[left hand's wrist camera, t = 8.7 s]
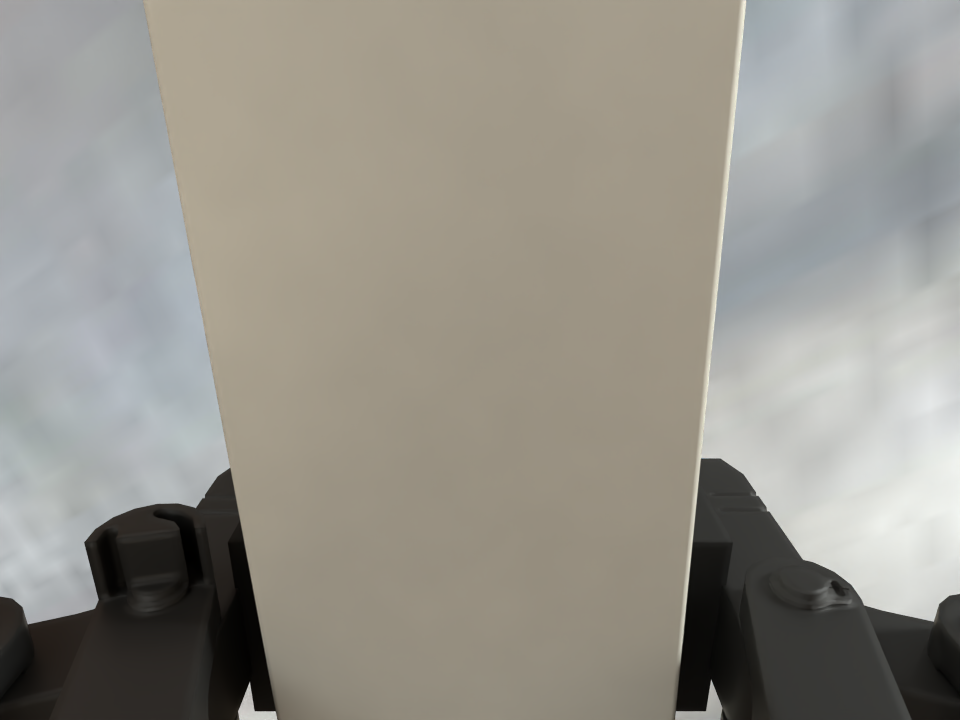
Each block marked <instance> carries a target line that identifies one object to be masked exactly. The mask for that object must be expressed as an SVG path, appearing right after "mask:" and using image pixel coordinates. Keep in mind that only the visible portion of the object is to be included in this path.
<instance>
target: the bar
mask: <svg viewBox="0 0 960 720" xmlns="http://www.w3.org/2000/svg"><path fill="white" fill-rule="evenodd" d="M143 3H144V8H145V13H146V19H147V24H148V30H149V35H150V40H151V46H152V51H153V56H154V62H155V67H156V72H157V78H158V83H159V88H160V94H161V99H162V104H163V110H164V115H165V120H166V126H167V131H168V136H169V142H170V147H171V153H172V158H173V163H174V169H175V174H176V179H177V185H178V190H179V195H180V201H181V206H182V211H183V217H184V222H185V227H186V233H187V238H188V243H189V249H190V254H191V260H192V265H193V270H194V276H195V281H196V286H197V292H198V297H199V302H200V308H201V313H202V318H203V324H204V329H205V334H206V340H207V345H208V350H209V356H210V361H211V366H212V372H213V377H214V383H215V388H216V393H217V399H218V404H219V409H220V415H221V420H222V425H223V431H224V436H225V441H226V447H227V452H228V457H229V463H230V468H231V473H232V479H233V484H234V490H235V495H236V500H237V506H238V511H239V516H240V522H241V527H242V532H243V538H244V543H245V548H246V554H247V559H248V564H249V570H250V575H251V580H252V586H253V591H254V596H255V602H256V607H257V613H258V618H259V623H260V629H261V634H262V639H263V645H264V650H265V655H266V661H267V666H268V671H269V677H270V682H271V687H272V693H273V698H274V703H275V709H276V714H277V720H675V713H676V703H677V693H678V683H679V673H680V663H681V653H682V643H683V633H684V623H685V613H686V603H687V592H688V582H689V572H690V562H691V552H692V542H693V532H694V522H695V512H696V502H697V492H698V482H699V472H700V462H701V451H702V441H703V431H704V421H705V411H706V401H707V391H708V381H709V371H710V361H711V351H712V341H713V331H714V321H715V310H716V300H717V290H718V280H719V270H720V260H721V250H722V240H723V230H724V220H725V210H726V200H727V190H728V180H729V169H730V159H731V149H732V139H733V129H734V119H735V109H736V99H737V89H738V79H739V69H740V59H741V49H742V39H743V28H744V18H745V8H746V0H143Z"/></svg>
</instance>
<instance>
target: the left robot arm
mask: <svg viewBox="0 0 960 720" xmlns="http://www.w3.org/2000/svg"><path fill="white" fill-rule="evenodd" d="M84 543H85V547H86V551H87V555H88V559H89V563H90V567H91V571H92V575H93V579H94V583H95V587H96V591H97V595H98V599H99V601H98V603H97V606H96V608H95V609H93V610H89V611H86V612H82V613H79V614H75V615H70V616H65V617H61V618H56V619H51V620H47V621H42V622H37V623H33V624H27V621H26V618H25V614H24V611H23V608H22V606H20V605H19V604H18V603H17V602H16V601H14V600H13V599H11V598H5V597H0V720H239V714H238V710H239V708H240V705H241V703H242V700H243V697H244V695H245V692H246V690H247V687H248V685H249V682H250V685H251V691H252V697H253V703H254V709H255V711H276V709H275V703H274V698H273V693H272V687H271V682H270V677H269V671H268V666H267V661H266V655H265V650H264V645H263V639H262V634H261V629H260V623H259V618H258V613H257V607H256V602H255V596H254V591H253V586H252V580H251V575H250V570H249V564H248V559H247V554H246V548H245V543H244V538H243V532H242V527H241V522H240V516H239V511H238V506H237V500H236V495H235V490H234V484H233V479H232V473H231V468H229V469H228V470H226V471H225V472H224V473H222V474H221V475H219V476H218V477H217V478H216V480H215V481H214V483H213V484H212V486H211V487H210V488H209V490H208V491H207V493H206V494H205V498H203V499H202V500H201V501H200V503H199V504H198V506H197V507H196V509H195V508H194V507H190V506H186V505H182V504H155V505H150V506H146V507H141V508H136V509H133V510H131V511H128V512H126V513H123V514H121V515H118V516H116V517H113V518H112V519H110V520H109V521H107V522H106V523H104V524H103V525H101V526H100V527H98V528H96V529H95V530H94V531H93V533H92V534H91V535H90V536H89V538H88V539H87V540H86V541H85V542H84ZM711 680H712V682H713V685H714V687H715V690H716V692H717V695H718V697H719V700H720V702H721V705H722V708H723V709H722V714H721V720H960V594H958V595H952V596H949V597H947V598H946V599H945V600H944V601H943V602H941V603H940V604H939V607H938V610H937V614H936V617H935V620H934V622H932V621H927V620H923V619H918V618H913V617H909V616H904V615H899V614H895V613H890V612H885V611H881V610H878V609H874V608H871V607H867V606H864V605H863V602H862V600H861V598H860V597H859V595H858V594H857V592H856V591H855V590H854V588H853V587H852V585H851V584H849V583H848V582H847V581H845V580H844V579H843V578H841V577H840V576H839V575H837V574H836V573H835V572H833V571H831V570H829V569H826V568H824V567H822V566H820V565H818V564H816V563H813V562H809V561H805V560H803V559H802V558H801V557H800V555H799V554H798V552H797V551H796V549H795V548H794V546H793V545H792V544H791V542H790V541H789V539H788V538H787V536H786V535H785V534H784V532H783V531H782V529H781V528H780V526H779V525H778V523H777V522H776V521H775V519H774V518H773V516H772V515H771V513H770V512H767V510H766V506H765V505H764V503H763V502H762V500H761V499H760V498H759V496H756V492H755V490H754V489H753V488H752V486H751V485H750V483H749V482H748V480H747V479H746V477H745V476H744V475H743V474H742V473H741V472H739V471H738V470H736V469H735V468H733V467H732V466H730V465H729V464H727V463H726V462H725V461H723V460H722V459H701V462H700V472H699V482H698V492H697V502H696V512H695V522H694V532H693V542H692V552H691V562H690V572H689V582H688V592H687V603H686V613H685V623H684V633H683V643H682V653H681V663H680V673H679V683H678V693H677V703H676V711H706V707H707V701H708V695H709V689H710V682H711Z"/></svg>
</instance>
